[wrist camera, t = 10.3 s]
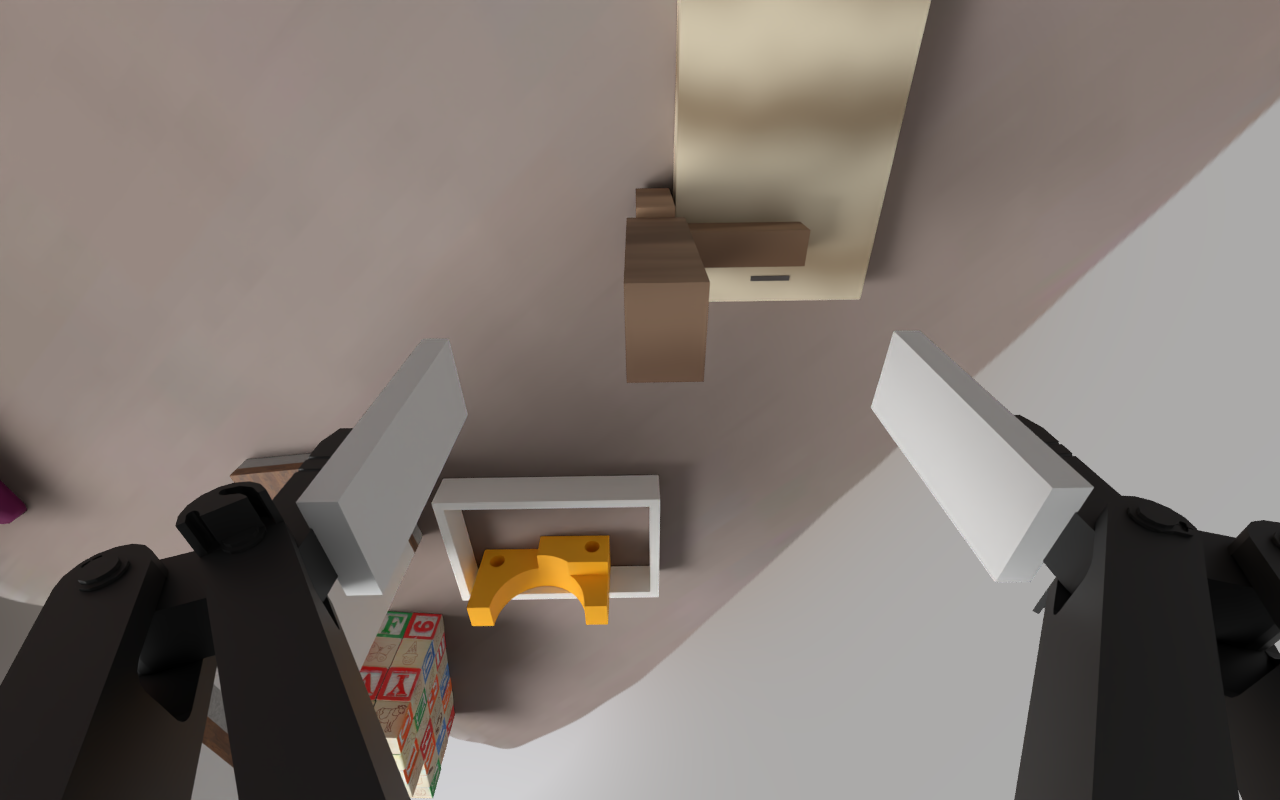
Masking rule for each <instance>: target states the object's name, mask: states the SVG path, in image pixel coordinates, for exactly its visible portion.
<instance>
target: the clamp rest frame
mask: <svg viewBox="0 0 1280 800" xmlns="http://www.w3.org/2000/svg"><path fill="white" fill-rule="evenodd" d="M431 504H432V507H433V510H434V513H435V516H436V519H437V522H438V526H439V529H440V532H441V535H442V538H443V541H444V544H445V547H446V550H447V553H448V556H449V560H450V563H451V566H452V569H453V572H454V575H455V578H456V581H457V584H458V587H459V590H460V593H461V597H462V600H463V601H465V600H469V599H470V596H471V592H472V589H473V586H474V583H475V580H476V577H477V573H478V570H479V569H478V567H477V564H476V560H475V556H474V553H473V549H472V546H471V542H470V539H469V535H468V532H467V528H466V525H465V521H464V517H463V514H462V510H491V509H550V508H609V507H649V566H611V570H610V592H609V598H634V597H659V546H660V489H659V475H628V476H568V477H508V478H449V479H443V480H442V482H441V484H440V486H439V488H438V490H437V493H436V495H435V497H434V499H433V501H432V503H431ZM521 599H578V598H577V597H576V596H575V595H574V594H572V593H571V592H569V591H567V590H565V589H563V588H559V587H554V586H541V587H535V588H532V589H529V590H526V591H524V592H522V593H520V594H518V595H517V596H515V597H514V598H513V599H511V600H521Z"/></svg>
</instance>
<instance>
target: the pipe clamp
mask: <svg viewBox="0 0 1280 800" xmlns="http://www.w3.org/2000/svg"><path fill="white" fill-rule="evenodd" d="M610 570H611V563H610V543H609V536H541V537H540V542H539V547H538V549H492V550H485V551H484V555H483V558H482V561H481V564H480V567H479V570H478V573H477V577H476V580H475V583H474V586H473V589H472V592H471V596H470V599H469V602H468V605H467V611H468V614H469V617H470V621H471V624H472V626H494V625H495V621H496V619H497V617H498V615H499V613H500V612H501V610H502V609H503V608H504V606H505V605H506V604H507V603H508V602H509V601H510V600H511V599H513V598H514V597H515V596H517V595H518V594H520V593H522V592H524V591H526V590H529V589H532V588H535V587H541V586H554V587H559V588H563V589H565V590H567V591H569V592H571V593H572V594H574V595H575V596H576V597H577V598H578V599H579V601H580V602H581V604H582V606H583V608H584V610H585V618H586V625H590V624H608V614H609V592H610Z"/></svg>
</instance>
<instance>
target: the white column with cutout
mask: <svg viewBox="0 0 1280 800" xmlns="http://www.w3.org/2000/svg"><path fill="white" fill-rule="evenodd" d="M310 454H311V453H308V454H298V455H288V456H278V457H268V458H258V459H248V460H246V461H244V462H243V463H242V464H241V465H240V466H239V467H238V468H237V469H236V470H235V471H234V472H233V473H232V474H231V475H230V477H231V479H232V480H233V481H234V483H236V482H247V481H251V482H255V483H260V484H261V485H262V486H263V487H264V488H265V489H266V490H267V492H268V494H269V495H270V497H271V499H272V500H273V498H274V497H275V496H276V495H277V494H278V492H279V491H280V490H281V489H282V488H283V486H284V485H285V484H286V483H287V482H288V480H289V479H290V478H291V477H292V476H293V474H294V473H295V472H298V468H299V467H300V466H301V465H302V464H303V462H304V461H305V460H308V459H309V455H310ZM422 536H423V535H422V533H421V531H420V529H419V527H418V525H417V524H416V526H415V528H414V530H413V532H412V534H411V536H410V538H409V540H408V543H407V545H406V547H405V549H404V551H403V553H402V555H401V557H400V559H399V561H398V564H397V566H396V568H395V570H394V572H393V574H392V576H391V578H390V580H389V583H388V585H387V587H386V589H385V591H384V593H383V595H351V596H347V595H346V594H345V592H344V590H343V588H342V586H341V584H340V583H339V581H338V579H336V581H335V583H334V584H333V586H332V588H331V590H330V591H329V593H328V597H329V599H330V600H331V602H332V604H333V606H334V609H335V611H336V614H337V616H338V619H339V621H340V624H341V626H342V629H343V631H344V634H345V636H346V639H347V641H348V644H349V646H350V649H351V651H352V654H353V656H354V659H355V661H356V664H357V666H358V669H359V671H360V670H361V668H362V665H363V663H364V661H365V659H366V657H367V655H368V653H369V650H370V648H371V646H372V644H373V642H374V640H375V637H376V635H377V633H378V631H379V629H380V627H381V625H382V622H383V620H384V618H385V616H386V614H387V612H388V610H389V607H390V605H391V603H392V601H393V599H394V597H395V594H396V592H397V590H398V588H399V586H400V584H401V582H402V579H403V577H404V575H405V573H406V571H407V569H408V567H409V564H410V562H411V560H412V558H413V556H414V554H415V551H416V549H417V547H418V545H419V543H420V541H421V539H422ZM191 800H239V799H238V793H237V787H236V781H235V774H234V768H233V762H232V756H231V749H230V743H229V737H228V731H227V724H226V718H225V712H224V706H223V699H222V693H221V687H220V681H219V674H218V668H217V669H216V674H215V679H214V684H213V689H212V695H211V700H210V705H209V710H208V715H207V720H206V725H205V730H204V736H203V741H202V746H201V751H200V756H199V761H198V766H197V771H196V777H195V782H194V787H193V792H192V797H191Z"/></svg>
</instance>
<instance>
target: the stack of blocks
mask: <svg viewBox="0 0 1280 800" xmlns="http://www.w3.org/2000/svg"><path fill="white" fill-rule="evenodd" d="M360 674H361V676H362V679H363V681H364V684H365V686H366V689H367V691H368V694H369V696H370V699H371V701H372V704H373V707H374V709H375V712H376V714H377V717H378V719H379V722H380V724H381V727H382V729H383V732H384V734H385V737H386V739H387V742H388V744H389V747H390V749H391V752H392V754H393V757H394V759H395V762H396V764H397V767H398V769H399V772H400V774H401V777H402V779H403V782H404V784H405V787H406V789H407V792H408V794H409V797H410V798H433V796H434V793H435V789H436V785H437V782H438V778H439V774H440V771H441V763H442V760H443V757H444V753H445V750H446V746H447V742H448V737H449V734H450V730H451V727H452V723H453V719H454V716H455V712H454V705H453V702H454V700H453V693H452V685H451V677H450V676H449V675H450V674H449V667H448V662H447V654H446V641H445V633H444V623H443V616H442V615H441V614H426V613H406V612H391V611H388V612H387V614H386V616H385V618H384V620H383V622H382V625H381V627H380V629H379V631H378V633H377V635H376V637H375V640H374V642H373V644H372V646H371V648H370V650H369V653H368V655H367V657H366V659H365V661H364V663H363V665H362V668H361V670H360Z"/></svg>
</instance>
